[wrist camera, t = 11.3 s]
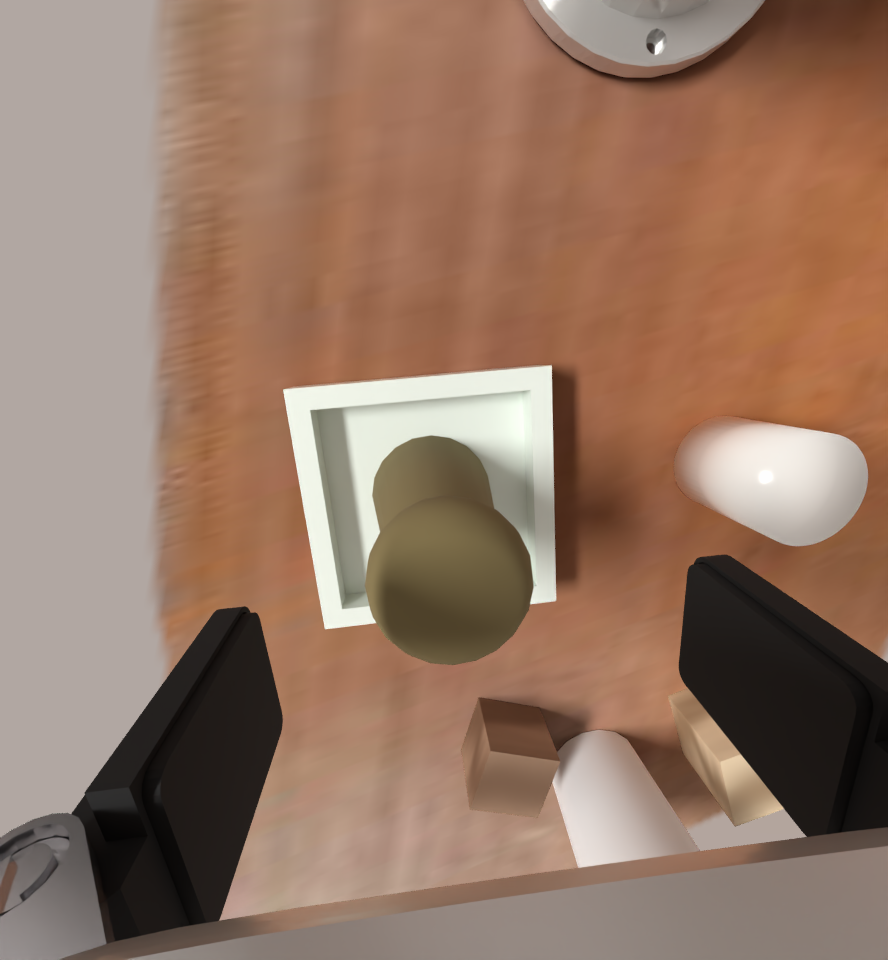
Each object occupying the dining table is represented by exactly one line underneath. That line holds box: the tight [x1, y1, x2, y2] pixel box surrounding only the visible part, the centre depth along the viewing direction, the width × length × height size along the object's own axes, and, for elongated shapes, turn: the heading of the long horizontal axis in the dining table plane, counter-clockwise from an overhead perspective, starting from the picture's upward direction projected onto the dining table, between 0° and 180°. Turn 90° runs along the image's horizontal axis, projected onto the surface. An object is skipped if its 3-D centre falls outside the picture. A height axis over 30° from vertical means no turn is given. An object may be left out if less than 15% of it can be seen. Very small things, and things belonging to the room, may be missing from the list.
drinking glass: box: [552, 730, 700, 868], centre depth 25 cm, size 7×7×10 cm
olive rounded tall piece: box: [365, 435, 534, 665], centre depth 18 cm, size 6×6×11 cm
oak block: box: [668, 688, 784, 826], centre depth 27 cm, size 5×5×5 cm
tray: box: [283, 365, 556, 629], centre depth 23 cm, size 12×12×2 cm
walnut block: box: [461, 698, 560, 818], centre depth 26 cm, size 4×4×4 cm
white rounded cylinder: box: [674, 416, 868, 546], centre depth 22 cm, size 5×5×6 cm
